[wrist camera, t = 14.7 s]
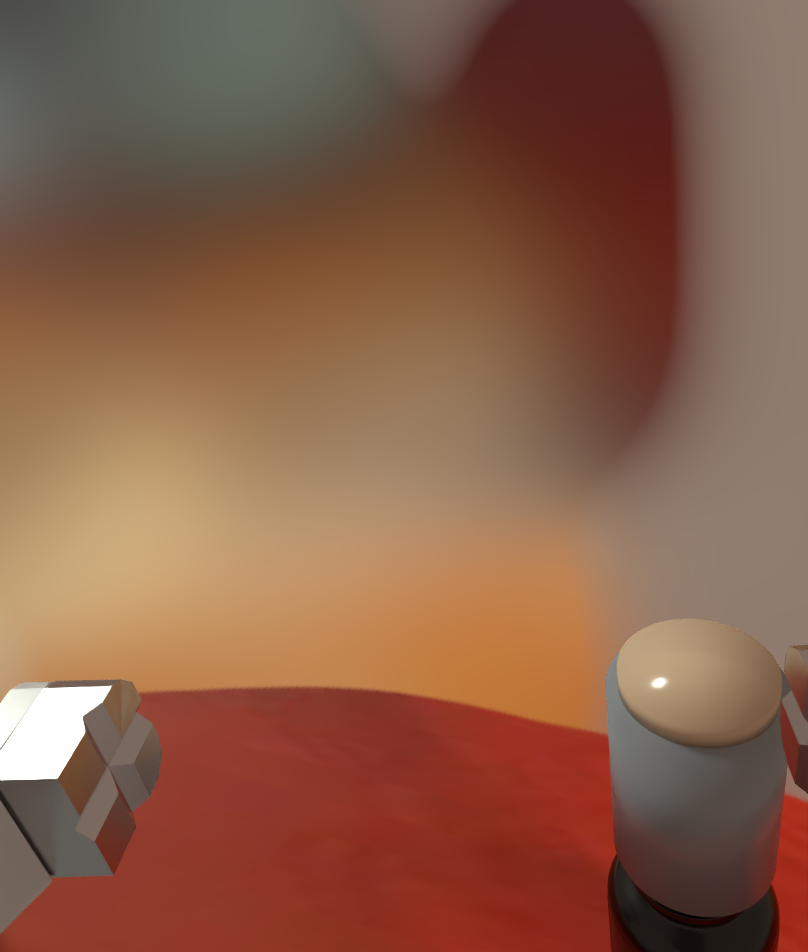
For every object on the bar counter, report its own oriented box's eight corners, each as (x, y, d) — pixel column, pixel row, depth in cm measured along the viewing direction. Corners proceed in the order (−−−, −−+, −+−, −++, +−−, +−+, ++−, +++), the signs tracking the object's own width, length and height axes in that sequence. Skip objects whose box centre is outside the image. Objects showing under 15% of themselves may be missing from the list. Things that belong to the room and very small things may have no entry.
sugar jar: (624, 915, 28) (616, 743, 24) (605, 779, 33) (596, 616, 29) (798, 918, 27) (824, 738, 23) (751, 776, 32) (765, 607, 28)
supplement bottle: (802, 1017, 35) (828, 852, 29) (699, 1125, 32) (705, 968, 26) (680, 900, 40) (681, 742, 34) (583, 985, 38) (567, 829, 32)
